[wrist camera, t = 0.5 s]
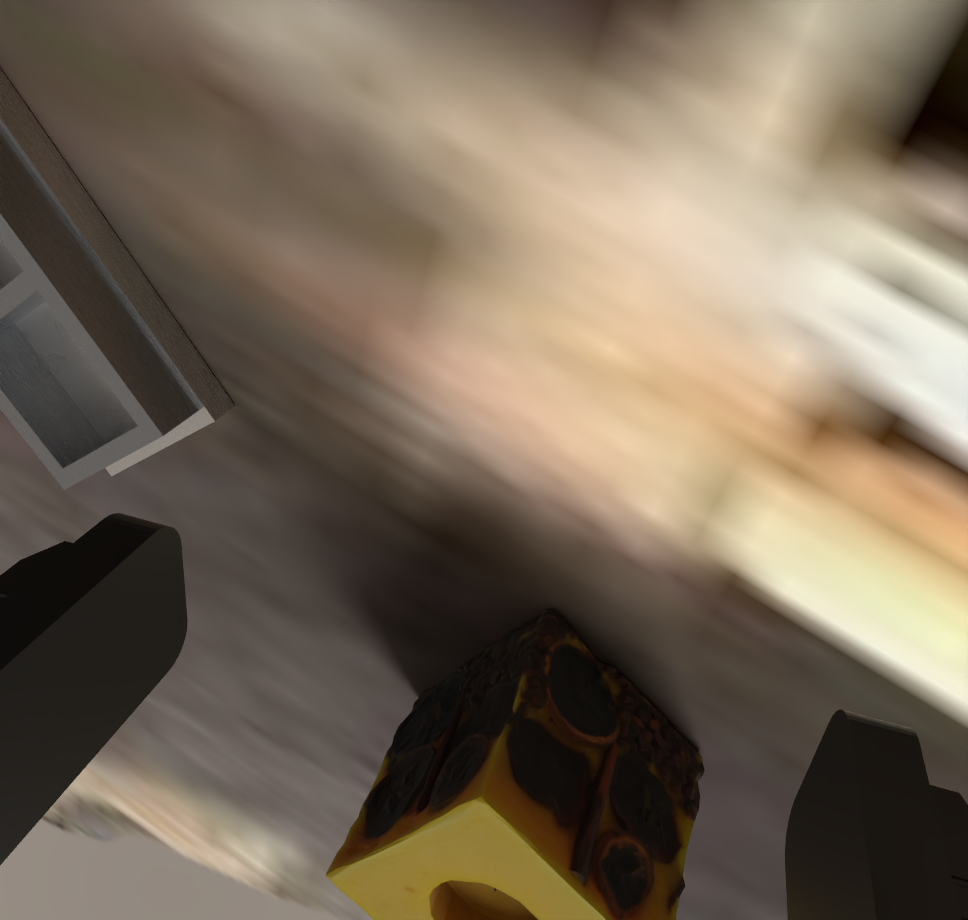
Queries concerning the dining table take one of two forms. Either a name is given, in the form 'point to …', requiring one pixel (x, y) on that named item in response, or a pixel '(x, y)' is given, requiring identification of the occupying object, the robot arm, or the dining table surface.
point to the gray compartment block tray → (83, 323)
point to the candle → (527, 795)
